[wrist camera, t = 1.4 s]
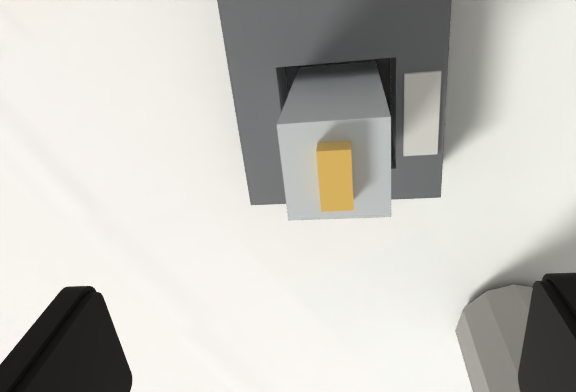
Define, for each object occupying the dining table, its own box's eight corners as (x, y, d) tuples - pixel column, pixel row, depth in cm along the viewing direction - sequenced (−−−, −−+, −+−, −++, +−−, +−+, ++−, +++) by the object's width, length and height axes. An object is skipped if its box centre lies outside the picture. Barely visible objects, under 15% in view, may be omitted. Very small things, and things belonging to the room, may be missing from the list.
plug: (375, 61, 24) (392, 124, 15) (377, 134, 25) (393, 227, 17) (298, 67, 24) (273, 132, 16) (305, 138, 26) (285, 231, 17)
